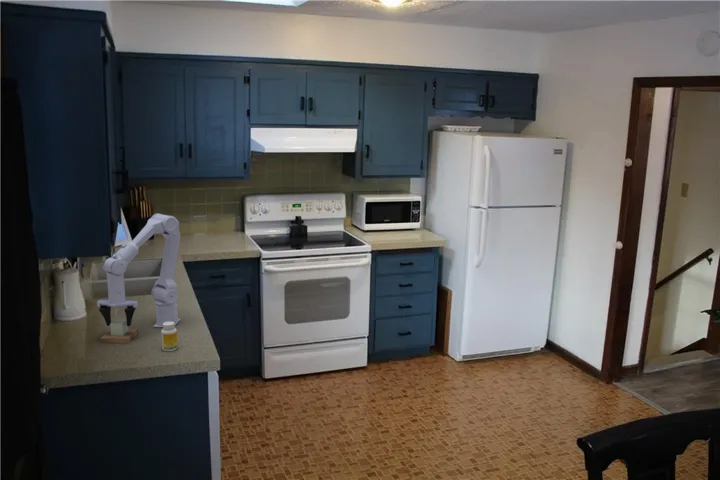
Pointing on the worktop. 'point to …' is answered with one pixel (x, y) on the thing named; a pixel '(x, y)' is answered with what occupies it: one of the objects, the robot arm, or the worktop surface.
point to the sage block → (119, 327)
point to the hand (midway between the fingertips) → (119, 325)
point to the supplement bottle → (169, 336)
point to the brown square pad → (119, 337)
